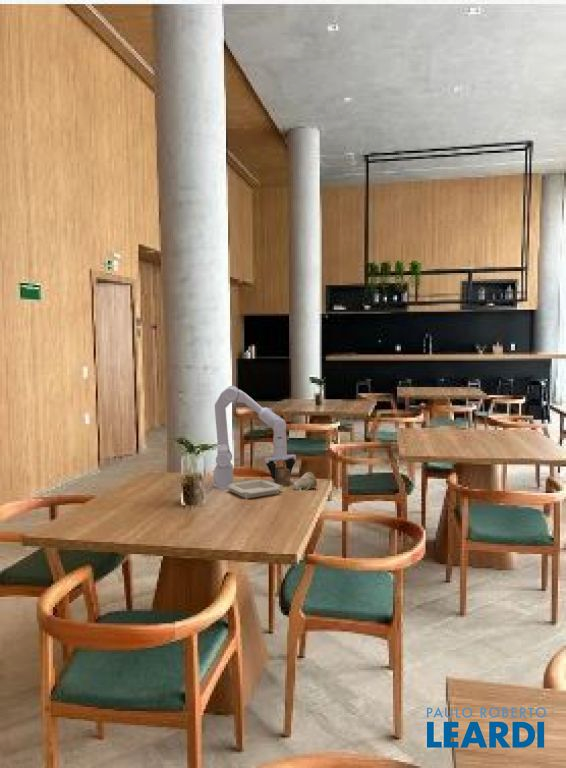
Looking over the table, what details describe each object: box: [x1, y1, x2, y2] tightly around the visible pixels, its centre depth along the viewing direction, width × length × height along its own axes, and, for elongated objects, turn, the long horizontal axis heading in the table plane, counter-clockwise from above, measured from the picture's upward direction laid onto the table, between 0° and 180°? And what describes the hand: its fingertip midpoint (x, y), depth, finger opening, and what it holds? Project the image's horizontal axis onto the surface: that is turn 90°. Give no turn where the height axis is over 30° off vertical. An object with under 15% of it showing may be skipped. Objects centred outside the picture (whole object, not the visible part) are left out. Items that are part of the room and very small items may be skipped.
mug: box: [292, 471, 318, 492], centre depth 255 cm, size 8×10×10 cm
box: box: [273, 466, 291, 488], centre depth 263 cm, size 4×8×7 cm, turn 26°
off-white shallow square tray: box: [226, 478, 284, 500], centre depth 251 cm, size 21×19×3 cm
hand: (281, 477), depth 264 cm, fingers open, 7 cm apart
